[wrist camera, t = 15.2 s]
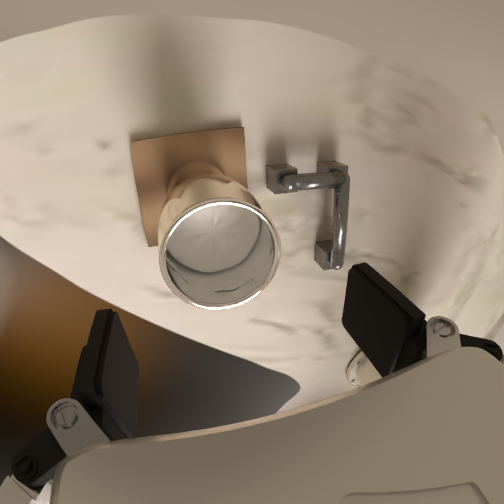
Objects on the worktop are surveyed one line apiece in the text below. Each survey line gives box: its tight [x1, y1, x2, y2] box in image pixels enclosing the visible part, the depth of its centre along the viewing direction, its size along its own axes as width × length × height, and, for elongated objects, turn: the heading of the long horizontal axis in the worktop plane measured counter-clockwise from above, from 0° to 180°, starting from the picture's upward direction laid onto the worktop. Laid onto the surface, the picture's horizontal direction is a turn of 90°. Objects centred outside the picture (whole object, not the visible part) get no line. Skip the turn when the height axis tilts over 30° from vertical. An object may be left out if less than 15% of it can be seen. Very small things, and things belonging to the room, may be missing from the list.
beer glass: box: [158, 161, 281, 309], centre depth 22 cm, size 7×7×15 cm
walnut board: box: [130, 127, 248, 247], centre depth 28 cm, size 11×11×1 cm
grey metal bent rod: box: [266, 161, 350, 270], centre depth 32 cm, size 12×8×4 cm
